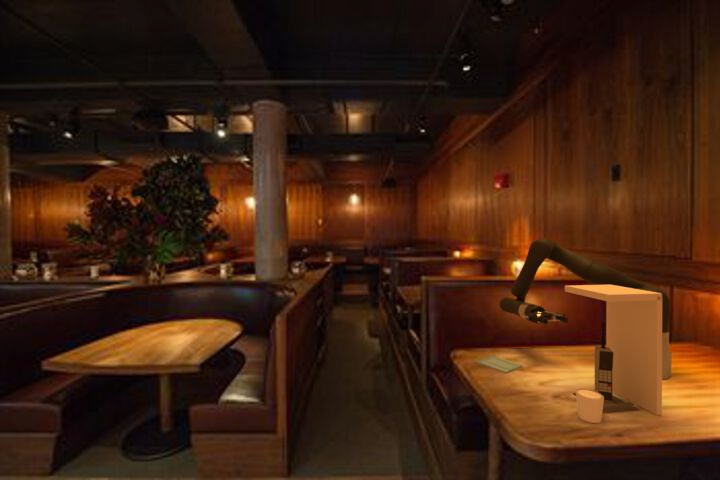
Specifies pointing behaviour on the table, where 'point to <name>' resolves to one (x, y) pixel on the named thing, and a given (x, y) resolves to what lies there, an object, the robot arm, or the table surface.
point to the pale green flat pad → (500, 364)
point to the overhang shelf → (631, 344)
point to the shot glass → (589, 405)
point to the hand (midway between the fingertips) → (557, 321)
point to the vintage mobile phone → (604, 370)
